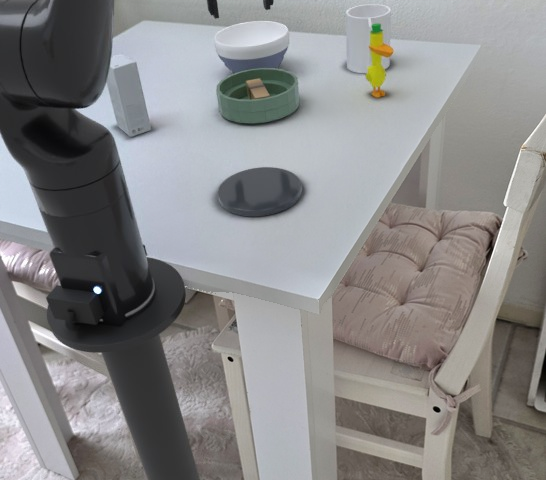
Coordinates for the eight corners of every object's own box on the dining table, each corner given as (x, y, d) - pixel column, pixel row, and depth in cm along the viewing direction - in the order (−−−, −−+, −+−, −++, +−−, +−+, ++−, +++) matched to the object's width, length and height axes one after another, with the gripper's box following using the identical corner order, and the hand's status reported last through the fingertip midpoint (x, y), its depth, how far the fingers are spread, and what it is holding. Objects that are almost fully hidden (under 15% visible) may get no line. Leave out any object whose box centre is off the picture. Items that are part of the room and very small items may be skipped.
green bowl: (287, 127, 110) (284, 102, 107) (208, 124, 114) (204, 99, 111) (308, 92, 120) (306, 68, 118) (235, 90, 124) (232, 67, 122)
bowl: (307, 66, 131) (304, 26, 126) (258, 92, 123) (254, 51, 118) (252, 54, 138) (248, 16, 134) (203, 78, 130) (197, 39, 126)
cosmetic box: (152, 130, 115) (137, 61, 107) (130, 138, 113) (112, 69, 105) (138, 119, 119) (122, 52, 111) (116, 126, 117) (99, 59, 109)
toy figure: (398, 98, 115) (400, 27, 107) (382, 104, 114) (383, 33, 106) (375, 86, 120) (375, 18, 112) (359, 92, 119) (358, 23, 111)
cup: (348, 82, 122) (346, 27, 116) (346, 58, 132) (345, 6, 125) (392, 79, 122) (394, 23, 115) (388, 55, 131) (389, 2, 124)
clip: (272, 113, 114) (270, 94, 112) (256, 116, 114) (254, 98, 112) (262, 95, 120) (260, 77, 118) (247, 98, 120) (245, 80, 118)
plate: (288, 220, 89) (288, 213, 88) (206, 213, 92) (205, 206, 92) (310, 175, 97) (310, 169, 97) (234, 170, 101) (233, 164, 100)
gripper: (183, -91, 93) (202, 27, 104) (281, -106, 95) (289, 12, 106) (177, -99, 99) (195, 13, 110) (269, -113, 101) (278, -1, 111)
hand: (241, 12), depth 108 cm, fingers open, 8 cm apart
